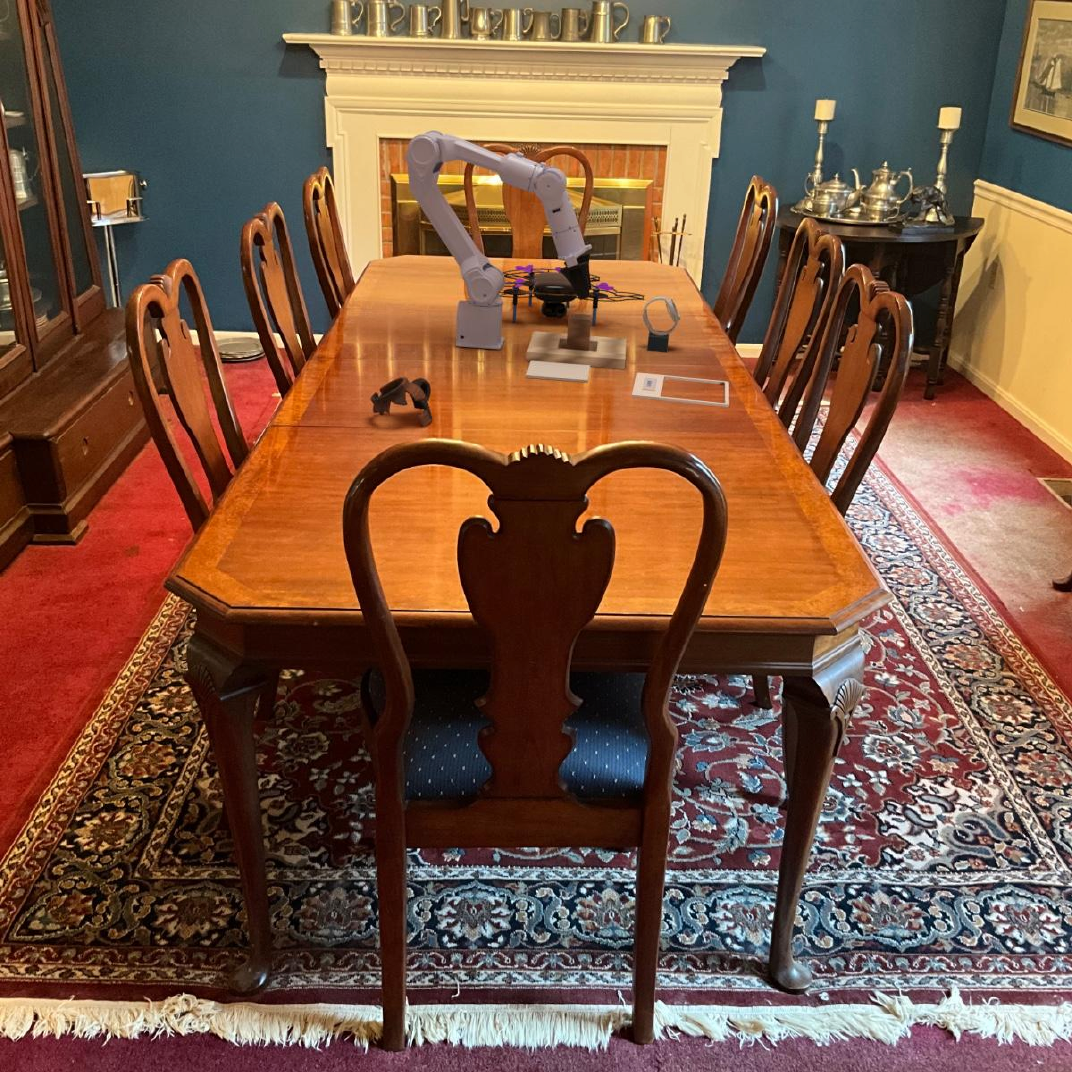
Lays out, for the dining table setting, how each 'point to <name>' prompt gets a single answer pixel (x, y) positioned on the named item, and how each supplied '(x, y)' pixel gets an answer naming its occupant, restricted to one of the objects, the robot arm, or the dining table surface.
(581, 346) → the block
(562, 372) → the felt pad
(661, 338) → the watch
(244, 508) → the dining table surface
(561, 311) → the drone
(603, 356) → the pocket board
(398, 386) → the brown curved piece
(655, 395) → the photo frame
